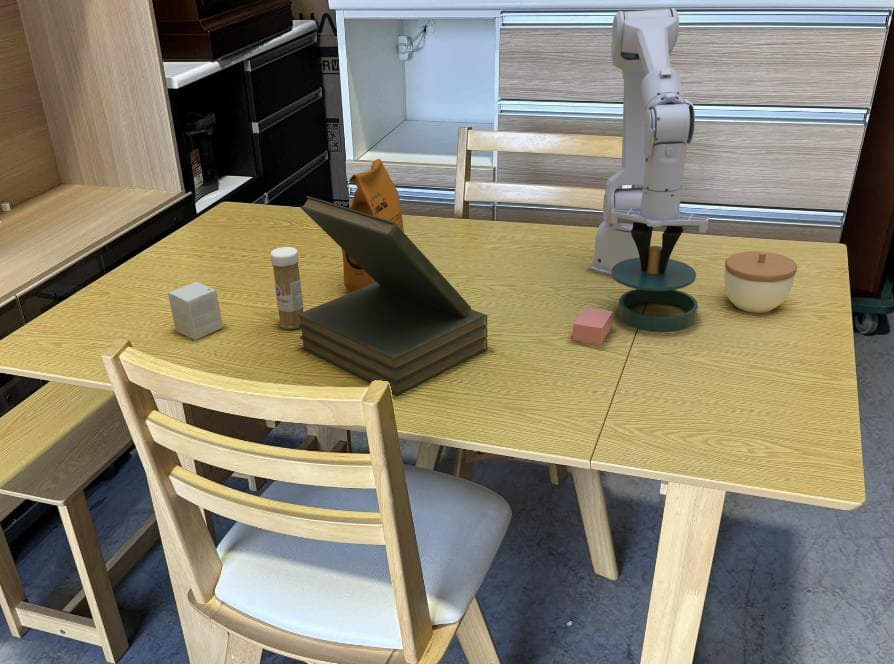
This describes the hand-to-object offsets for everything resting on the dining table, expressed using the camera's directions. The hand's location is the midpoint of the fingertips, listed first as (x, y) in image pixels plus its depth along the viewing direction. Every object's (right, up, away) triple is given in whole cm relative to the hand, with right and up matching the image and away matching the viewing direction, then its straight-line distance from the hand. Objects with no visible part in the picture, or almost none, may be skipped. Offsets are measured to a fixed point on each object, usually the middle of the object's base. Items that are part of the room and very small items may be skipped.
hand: (653, 270), depth 139 cm
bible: (-42, -13, 0) cm, 44 cm away
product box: (-75, -9, +11) cm, 76 cm away
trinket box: (+18, -5, +5) cm, 20 cm away
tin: (+2, -7, +4) cm, 8 cm away
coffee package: (-45, +1, +24) cm, 51 cm away
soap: (-10, -11, 0) cm, 15 cm away
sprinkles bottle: (-59, -8, +11) cm, 60 cm away
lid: (0, -1, 0) cm, 1 cm away
